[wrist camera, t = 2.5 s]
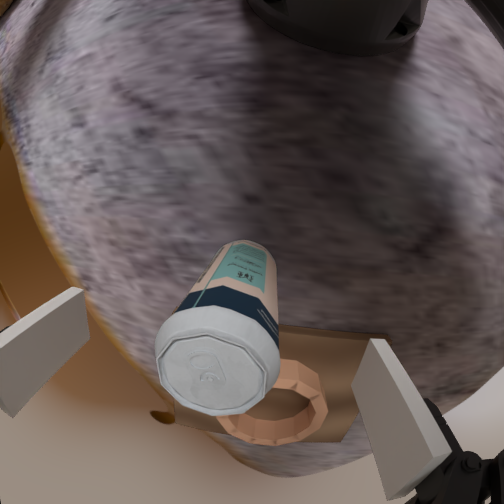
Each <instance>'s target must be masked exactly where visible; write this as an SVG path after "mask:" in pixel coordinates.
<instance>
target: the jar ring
mask: <svg viewBox="0 0 504 504" xmlns="http://www.w3.org/2000/svg"><path fill="white" fill-rule="evenodd" d="M280 362H281V365H280V372H279V376H278V379H277V381H276V383H275V384H274V386H273V387H272V388H281V389H291V390H294V391H296V392H298V393H299V394H301V395H303V396H305V397H307V398H309V399H310V402H309V404H308V407H307V408H305V409H304V410H302V411H301V412H300V413H298V414H297V415H295V416H294V417H291V418H286V419H282V420H278V421H269V420H260V419H255V418H253V417H251V416H249V415H247V414H245V413H243V414H233V415H222V416H216V418H217V420H218V421H219V422H220V423H221V425H222V426H223V427H224V429H225V430H226V431H227V432H228V433H229V434H231V435H233V436H235V437H237V438H239V439H241V440H244V441H246V442H248V443H252V444H261V445H271V446H277V445H282V444H287V443H292V442H297V441H301V440H302V439H304V438H306V437H307V436H309V435H310V434H312V433H313V432H315V431H317V430H318V429H320V427H321V425H322V423H323V421H324V419H325V417H326V415H327V413H328V407H327V402H326V397H325V392H324V389H323V386H322V384H321V381H320V378H319V375H318V374H317V373H316V372H314V371H313V370H311V369H309V368H308V367H306V366H305V365H303V364H302V363H300V362H298V361H296V360H287V359H280Z"/></svg>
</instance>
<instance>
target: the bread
mask: <svg viewBox="0 0 504 504" xmlns="http://www.w3.org/2000/svg"><path fill="white" fill-rule="evenodd" d="M12 2H13V0H0V17H1V16H2V14H3V13H4V12H5V11H6V10H7V9H8V8H9V6H10V5H11V3H12Z"/></svg>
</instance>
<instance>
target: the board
mask: <svg viewBox="0 0 504 504" xmlns="http://www.w3.org/2000/svg"><path fill="white" fill-rule="evenodd" d="M177 308H178V307H176V308H175V310H174V311H173V313H172V315H173V314H174V312H175V311H176V309H177ZM278 328H279V354H280V359H287V360H296V361H298V362H300V363H302V364H303V365H305V366H306V367H308V368H309V369H311V370H313V371H314V372H316V373H317V374H318V375H319V378H320V381H321V384H322V386H323V389H324V392H325V397H326V402H327V407H328V413H327V415H326V417H325V419H324V421H323V423H322V425H321V427H320V429H318V430H317V431H315V432H313V433H312V434H310V435H309V436H307V437H306V438H304V439H302V440H301V441H297V442H341V441H342V439H343V437H344V436H345V434H346V433H347V431H348V429H349V428H350V426H351V424H352V423H353V421H354V419H355V418H356V416H357V414H358V412H359V408H358V405H357V402H356V399H355V396H354V393H353V390H352V387H351V384H352V382H353V379H354V377H355V375H356V373H357V370H358V368H359V365H360V363H361V361H362V358H363V356H364V353H365V351H366V348H367V345H368V343H369V340H370V338H372V339H385V340H386V342H387V343H388V345H389V346H390V347H391V345H392V340H391V339H390V337H389V336H388V335H383V334H368V333H355V332H343V331H333V330H323V329H314V328H305V327H297V326H289V325H281V324H278ZM309 402H310V399H309V398H307V397H305V396H303V395H301V394H299V393H298V392H296V391H294V390H291V389H281V388H271V390H270V391H268V392H267V393H266V394H265V396H264V398H263V399H262V400H261V401H259V402H258V403H257V404H255V405H254V406H253V407H251V408H250V409H249V410H247V411H246V412H245V414H247V415H249V416H251V417H253V418H255V419H260V420H269V421H278V420H282V419H286V418H291V417H294V416H295V415H297V414H298V413H300V412H301V411H302V410H304V409H305V408H307V407H308V404H309ZM174 412H175V423H176V424H180V425H184V426H188V427H193V428H197V429H201V430H206V431H211V432H216V433H222V434H228V435H231V434H229V433H228V432H227V431H226V430H225V429H224V427H223V426H222V425H221V423H220V422H219V421H218V420H217V418H216V416H211V415H208V414H205V413H202V412H199V411H196V410H193V409H191V408H188V407H185V406H182V405H181V404H180V403H179V402H178V401H177V400H176V399H175V398H174Z"/></svg>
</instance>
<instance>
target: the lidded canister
mask: <svg viewBox="0 0 504 504" xmlns="http://www.w3.org/2000/svg"><path fill="white" fill-rule="evenodd" d="M155 358H156V362H157V368H158V373H159V378H160V383H161V385H162V386H163V387H164V388H165V389H166V390H167V391H168V392H169V393H170V394H171V395H172V396H173V397H174V398H175V399H176V400H177V401H178V402H179V403H180V404H181V405H182V406H185V407H188V408H191V409H193V410H196V411H199V412H202V413H205V414H208V415H211V416H222V415H233V414H243V413H245V412H246V411H247V410H249V409H250V408H251V407H253V406H254V405H255V404H257V403H258V402H259V401H261V400H262V399H263V398H264V396H265V394H266V393H267V392H268V391H270V390H271V388H272V387H273V386H274V384H275V383H276V381H277V379H278V376H279V372H280V365H281V362H280V354H279V328H278V298H277V267H276V263H275V260H274V258H273V257H272V255H271V254H270V252H269V251H268V250H267V249H266V248H265V247H263V246H262V245H260V244H258V243H256V242H253V241H249V240H237V241H233V242H230V243H227V244H225V245H224V246H222V247H221V248H220V249H219V250H218V251H217V253H216V254H215V256H214V257H213V260H212V261H211V263H210V264H209V266H208V267H207V268H206V270H205V271H204V272H203V274H202V275H201V276H200V278H199V279H198V280H197V282H196V283H195V285H194V286H193V287H192V289H191V290H190V291H189V293H188V294H187V296H186V297H185V298H184V300H183V301H182V302H181V304H180V305H179V307H178V308H177V309H176V311H175V312H174V314H173V315H172V316H171V317H170V318H168V319H167V320H166V321H165V322H164V323H163V325H162V326H161V328H160V330H159V331H158V333H157V336H156V340H155Z"/></svg>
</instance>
